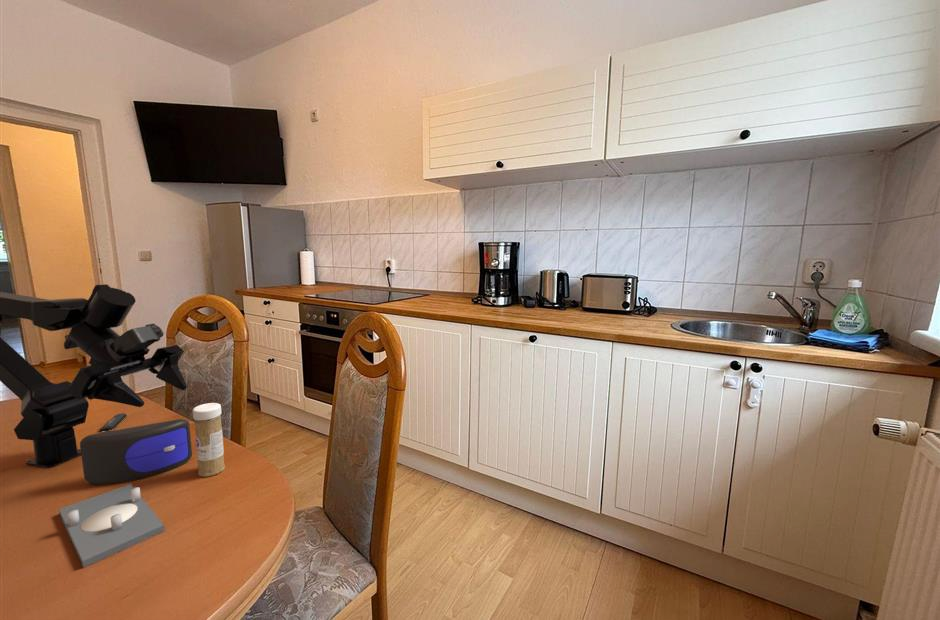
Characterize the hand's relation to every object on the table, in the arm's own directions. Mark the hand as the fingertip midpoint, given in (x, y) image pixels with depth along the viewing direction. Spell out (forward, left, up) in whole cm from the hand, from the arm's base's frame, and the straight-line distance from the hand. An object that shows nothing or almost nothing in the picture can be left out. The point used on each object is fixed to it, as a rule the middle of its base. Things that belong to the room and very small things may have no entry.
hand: (165, 396), depth 75 cm
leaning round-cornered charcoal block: (-5, -2, -15) cm, 16 cm away
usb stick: (-34, +14, -16) cm, 40 cm away
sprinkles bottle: (+8, +1, -15) cm, 17 cm away
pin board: (+5, -15, -15) cm, 22 cm away
